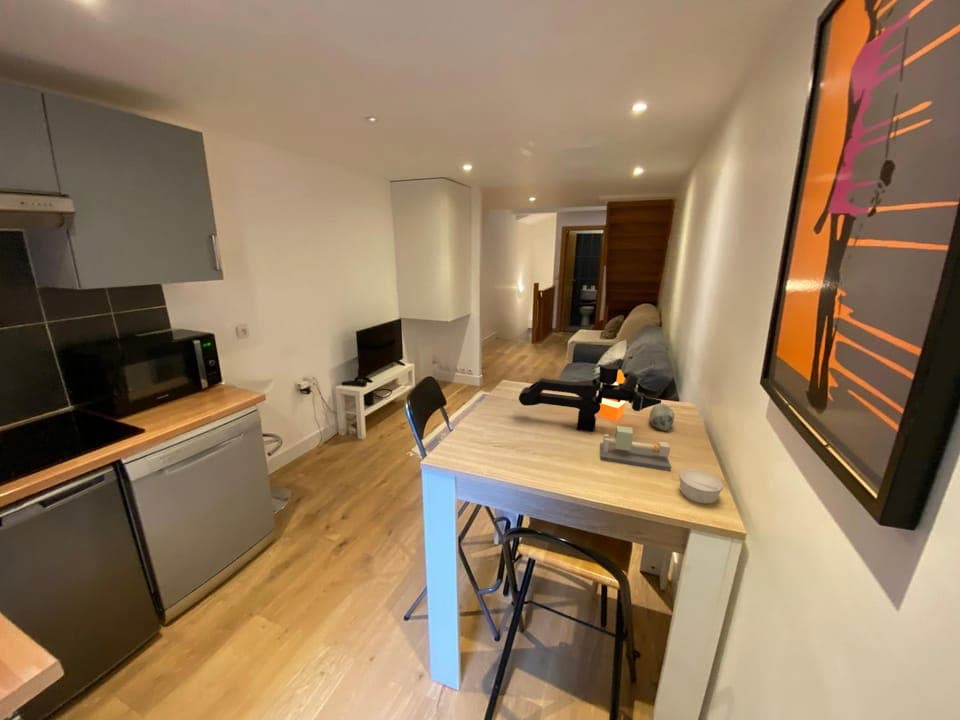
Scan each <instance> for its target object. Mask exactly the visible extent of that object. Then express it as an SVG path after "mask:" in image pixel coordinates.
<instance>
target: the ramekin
mask: <svg viewBox="0 0 960 720" xmlns="http://www.w3.org/2000/svg"><path fill="white" fill-rule="evenodd" d="M723 488H724V485H723V482H722V481H721V480H720V478H719V477H717V476H715V475H713V474H712V473H710V472H707V471H704V470H701V469H697V468H687V469H684V470H682V471H681V472H680V473H679V489H680V491H681V493H682V494H683V496H685V498H687V499H689V500H690V501H692V502H695V503H697V504H702V503H706V504H705V505H708V504H707V503H710V504H713V503H715V502H716V501H717V500H718V499H719V496H720V494H721V492H722V491H723Z"/></svg>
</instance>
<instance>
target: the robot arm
mask: <svg viewBox="0 0 960 720" xmlns="http://www.w3.org/2000/svg"><path fill="white" fill-rule="evenodd" d="M618 371H619V366H618V365H614V364H605V365H599V375H598V376H597V377H595V378H593V379H589V380H588V379H587V380H579V381H567V380H557V379H556V380H555V379H548V378H543V377H542V378H539V379H538V380H537V381H536V382H534V383H532V384H531V385H530V386H527V387H524V388H522V389H521V392H520V393H519V396H518V401H519V403H520V404H521V405H522V406H527V407H528V406H537V405H541V404H543V405H548V406H549V405H551V406H558V407H565V408H574V409H578V415H577V422H576V430H579V431H582V432H583V431H584V432H585V431H586V432H591V433H592V432H594V429H596V424H597V423H596V421H597V417H596V416H595V415H596V414H597V413H600V408H601V407H600V405H601V403H602V398H604V399H613V400H617V401H618V402H620V401H626V402H628V403H629V404H630V406H631V409H632V410H633V411H634V412H641V411H642V410H644V409H646V408H647V409H648V408H650V407H654V406H656V405H658V404H661V403H662V399H658V398H654V397H650V396H655V395H657V394H658V391H657V390H654V389H651V388H648V387H646V386H643V384H641V383H640V381H639V378H640V377H639V374H637V373H634V371H625V372H624V373H623V376H624V378H625V379H624V382H623V383H620V384H618V385H612V384H614V383H615V382H617V375H618ZM544 391H551V392H557V393H551V392H550V393H548V392H544ZM558 392H559V393H567V395H566V394H565V395H564V394H558ZM568 394H574V395H568ZM575 395H576V396H575Z"/></svg>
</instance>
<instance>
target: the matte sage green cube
mask: <svg viewBox="0 0 960 720" xmlns="http://www.w3.org/2000/svg"><path fill="white" fill-rule="evenodd" d="M633 437H634V431H633V427H629V426H621V425H616V428H615V435H614V439H616V444H615V449H621V450H628V451H631V446H632V442H633Z"/></svg>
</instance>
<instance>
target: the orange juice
mask: <svg viewBox="0 0 960 720" xmlns="http://www.w3.org/2000/svg"><path fill="white" fill-rule="evenodd" d="M623 375H624V373H623V371H622V370H621V369H620V370H618V375H617V382H615V383H614V384H612V385H618V384H620V383H623V382H624V379H625V378H624V376H623ZM626 402H627V401H620V402H618V401H617V400H613V399H604V398H602V403H600V407H601V408H600V411H599V412H598V413H599V414H598V415H599V416H598V417H602V418H603V419H604V418H605V419H607V420H612V421H615V422H617V421H618V420H619V419H621V417H623V416H624V415H625V407H626Z"/></svg>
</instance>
